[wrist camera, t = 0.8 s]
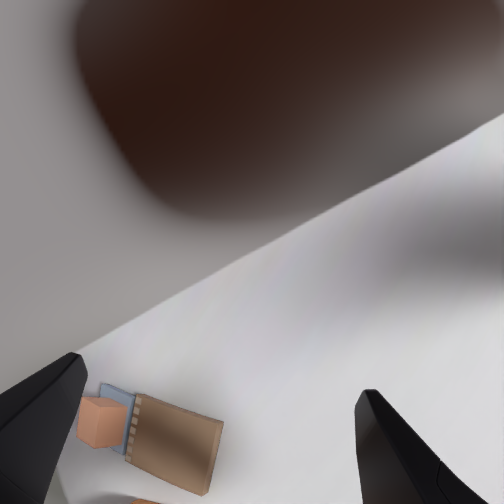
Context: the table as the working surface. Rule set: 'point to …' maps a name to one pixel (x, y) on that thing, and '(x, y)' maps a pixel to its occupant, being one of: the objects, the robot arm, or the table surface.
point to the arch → (143, 502)
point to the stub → (106, 419)
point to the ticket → (173, 443)
